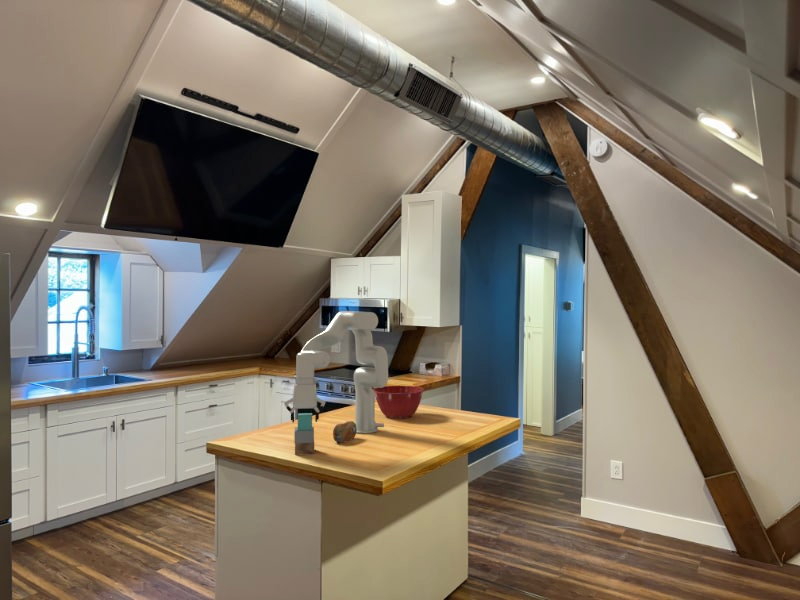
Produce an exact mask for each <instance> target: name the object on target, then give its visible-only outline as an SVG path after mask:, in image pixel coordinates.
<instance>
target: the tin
mask: <svg viewBox="0 0 800 600" xmlns="http://www.w3.org/2000/svg"><path fill="white" fill-rule="evenodd" d="M356 431H357V429H356V424H355V421H344V422H341V423H338V424H336V425H335V426H334V428H333V431H332V436H333V440H334V442H336V443H340V444H343V443H345V441H346V442H348V440H349V441H351V439H352V440H353V439H354V438H355V437H356V434H357V433H356ZM342 442H343V443H342Z"/></svg>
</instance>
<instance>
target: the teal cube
mask: <svg viewBox="0 0 800 600" xmlns="http://www.w3.org/2000/svg"><path fill="white" fill-rule="evenodd" d="M297 427H298V431H303V430H312V427H313V413H312V412H310V413H309V412H304V413H303V412H302V413H300V412H299V413H297Z"/></svg>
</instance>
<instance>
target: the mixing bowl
mask: <svg viewBox="0 0 800 600" xmlns="http://www.w3.org/2000/svg"><path fill="white" fill-rule="evenodd" d="M373 391H374V395H375V400H376V403H377V404H378V407H379V409H380V411H381V413H382V414H383V415H385V417H387V418H389V417H391V418H390V419H395V418H402V419H408V418H407V417H409V418H410V416H411V417H412V416H413V415H414V414H415V413H416V412H417V410H418V408H419V405H420V404H421V401H422V396H423V392H424V387H421V386H415V385H414V386H413V385H386V386H385V387H383V388H376V387H374V388H373Z"/></svg>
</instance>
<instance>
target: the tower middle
mask: <svg viewBox="0 0 800 600" xmlns="http://www.w3.org/2000/svg"><path fill="white" fill-rule="evenodd" d="M295 443H314V444H315V428H314V426H312V430H303V431H298V426H294V444H295Z"/></svg>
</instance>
